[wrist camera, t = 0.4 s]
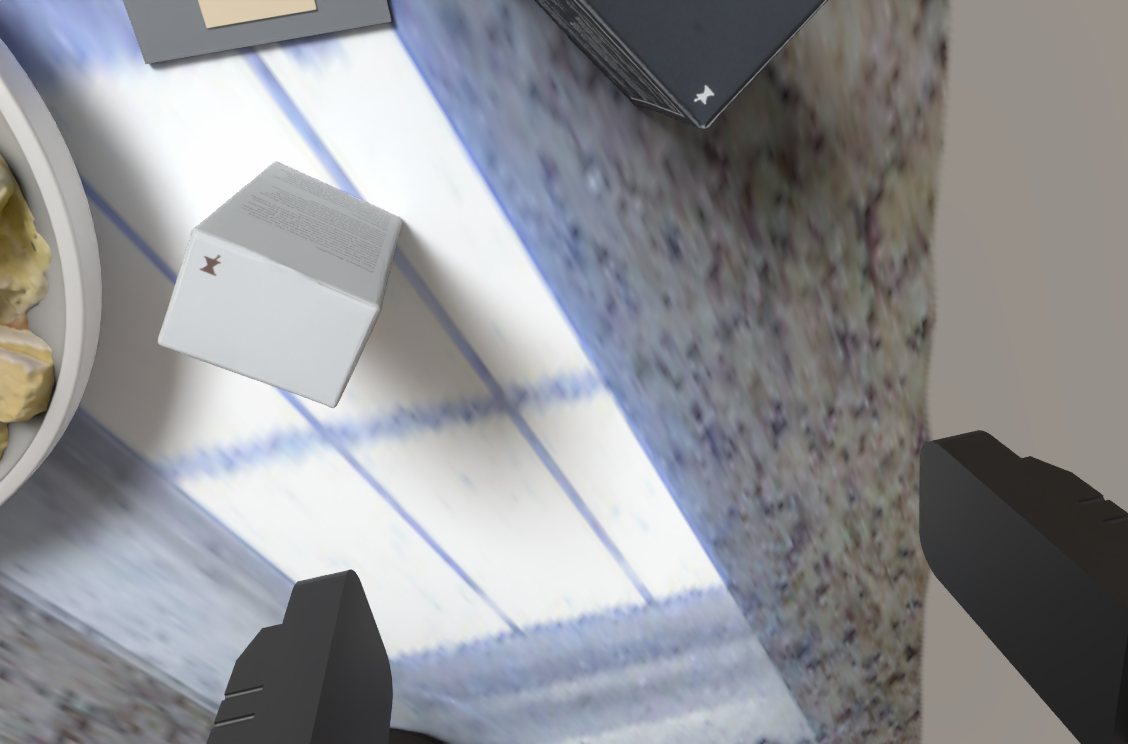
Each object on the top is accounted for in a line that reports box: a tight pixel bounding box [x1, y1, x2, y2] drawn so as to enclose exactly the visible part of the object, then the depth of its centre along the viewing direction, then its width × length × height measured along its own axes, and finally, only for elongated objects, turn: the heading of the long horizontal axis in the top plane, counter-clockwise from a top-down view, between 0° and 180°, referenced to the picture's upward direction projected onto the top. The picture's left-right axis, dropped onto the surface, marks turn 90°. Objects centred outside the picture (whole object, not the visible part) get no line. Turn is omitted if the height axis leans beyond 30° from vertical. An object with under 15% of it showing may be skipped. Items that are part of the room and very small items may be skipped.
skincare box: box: [158, 162, 402, 408], centre depth 30 cm, size 6×4×12 cm
